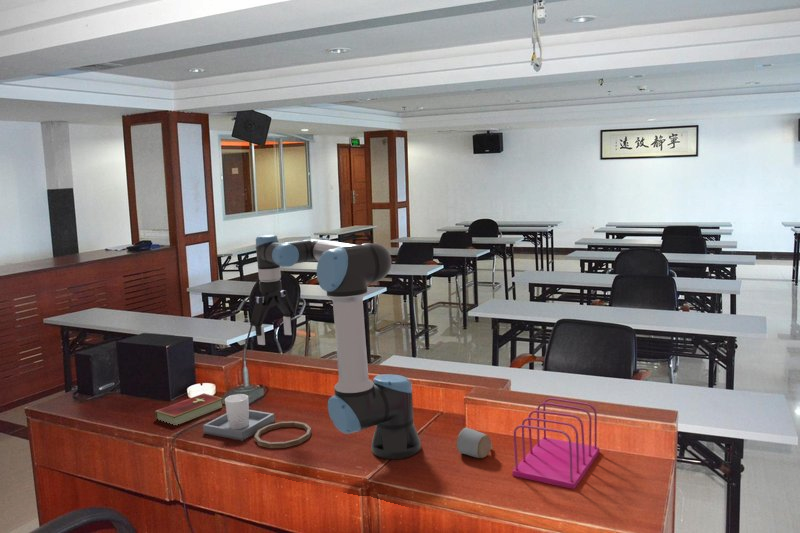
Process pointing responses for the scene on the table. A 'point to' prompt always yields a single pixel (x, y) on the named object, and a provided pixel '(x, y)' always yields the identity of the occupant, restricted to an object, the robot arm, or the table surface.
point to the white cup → (237, 411)
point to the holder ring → (287, 443)
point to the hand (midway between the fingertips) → (275, 339)
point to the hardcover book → (189, 409)
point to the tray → (222, 429)
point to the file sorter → (556, 451)
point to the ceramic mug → (473, 443)
